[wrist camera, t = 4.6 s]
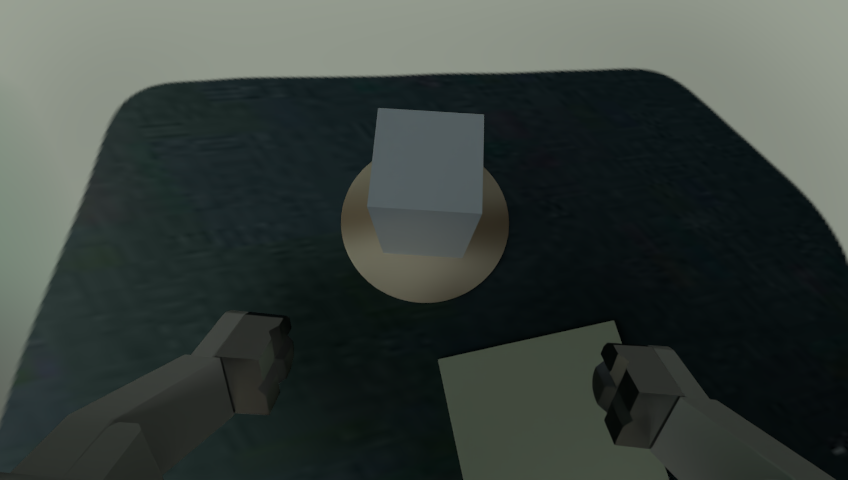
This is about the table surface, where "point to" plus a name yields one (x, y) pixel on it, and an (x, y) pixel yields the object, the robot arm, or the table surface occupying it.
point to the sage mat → (538, 412)
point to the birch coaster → (424, 273)
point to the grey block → (426, 181)
